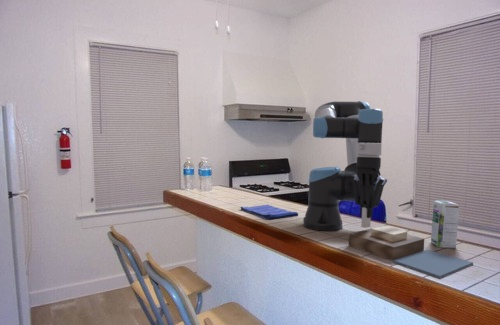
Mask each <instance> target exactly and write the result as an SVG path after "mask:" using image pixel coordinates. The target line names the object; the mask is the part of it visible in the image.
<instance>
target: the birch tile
mask: <svg viewBox="0 0 500 325" xmlns="http://www.w3.org/2000/svg"><path fill="white" fill-rule="evenodd" d="M370 229H371V236H375V237H378V238H382V239H385V240H389V241H392V242H396V241H399V240H403V239H407V234H408V231H406V230H403V229H398V228H396V227H390V226H388V225H387V226H386V225H382V226H378V227H372V228H370Z"/></svg>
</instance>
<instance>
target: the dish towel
mask: <svg viewBox="0 0 500 325" xmlns="http://www.w3.org/2000/svg"><path fill="white" fill-rule="evenodd" d="M240 211H242V212H246V213H249V214H251V215H253V216H255V217H258V218H262V219H264V220H276V219H283V218H291V217H292V218H293V217H298V216H299V213H298V212H296V211H290V210H286V209H283V208H279V207H275V206H272V205H270V204H263V205H262V204H261V205H254V206H240Z"/></svg>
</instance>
